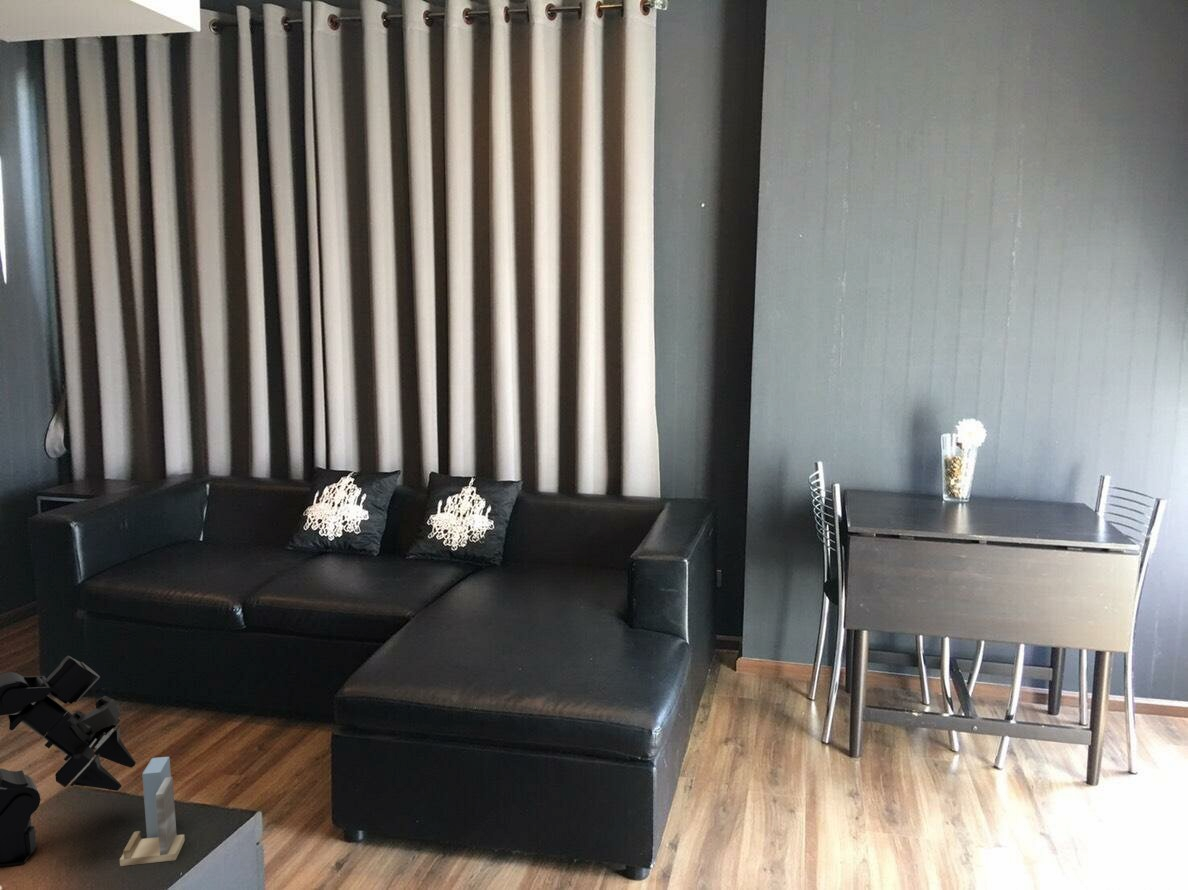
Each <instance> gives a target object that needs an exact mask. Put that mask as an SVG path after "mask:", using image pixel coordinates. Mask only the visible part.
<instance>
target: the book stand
mask: <svg viewBox="0 0 1188 890" xmlns="http://www.w3.org/2000/svg"><path fill="white" fill-rule="evenodd" d="M173 777H174V776H171V777H167V778H165V779H164V781H163V783H162V784H161V786H160V788H159V790H158V791H157V793H156V807H157V821H158V835H159V837H155V838H147V837H145V838H142V836H141V835H142V834H141V833H142V832H141V830H137V831H134V832H133V833H132V834H131V836H130V838H129V840H128V842H127V844H126V846H125V848H124V849H123V851H122V852H123V853H122V855H121V857H120V858H119V866H120V867H124V866H134V865H144V864H152V863H153V864H154V863H161V862H171V861H176V860H177V858H178V857H179V854H180V852H181V850H182V847H183V845H184V843H185V841H186V839H185V833H184V834H183V833H182V834H177V823H176V808H175V794H174V781H173Z"/></svg>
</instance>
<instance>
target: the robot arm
mask: <svg viewBox="0 0 1188 890" xmlns="http://www.w3.org/2000/svg"><path fill="white" fill-rule="evenodd" d="M100 678H101V676H100V675H99V674H98V673H97V672H95V671H94V670H93V669H92V668H91V667H89V666H88V665H87V664H86V663H84V662H83V661H79V660H77V659H75V658H73V657H72V656H70V655H67V656H66V657H64V658H63V660H62V661H61V662H60V664H58V666H57V667H56V668H55V669H54V670H53V671H52V672H51V673H50V674H49V675H48V677H46V676H45V675H32V676H31V675H30V676H28V675H27V676H22V675H21V674H20V673H17V672H13V671H9V672H4V673H2V674H0V716H6V715H7V717H8V720H9V721H8V722H9V726H8V727H9V728H8V730H9V731H13V730H15V729H16V728H17V727H18V726H19V725H20V724H24V726H27V727H28V729H30V730H32V731H33V732H35V733H36V734H37V735H38V736H40V737H41V738H43V739H44V740H45V741H46V742H45V744H44V747H46V748H48V749H50V748H51V747H52V746H53V747H54V748H56V749H58V750H59V751H60V752H62V753H63V754H65V757H64V758H63V760H64V761H65V762H64V763H63V764H62V765H61V766H60V768H59V769H58V770H57V771H56V772H55V782H57V783H58V784H59V785H61V786H62V787H63V788H67V786H68V785H69V786H70V787H74V786H77V787H78V786H80V787H81V786H82V787H90V788H96V789H104V790H110V791H115V792H117V791H119V790H120V789H121V788H122V784H121V783H120V781H118V780H117V778H115V776H113V775H112V774H111V773H110V772H109V771H108V770H107V769H106V768H105V767H104V766H102V764H101V758H102V759H106V760H108V761H111V762H114V763H116V764H118V765H121V766H123V767H128V768H129V769H130V768H131V769H133V768H134V767H135V766H136V764H137V762H136V761H135V759H134V758H133V756H132V755H131V753H130V752H129V750H128V749H127V747H126V746H125V744H124V742H123V741H122V739H121V736H120V735H121V734H120V733H121V731H120V730H121V728H122V727H121V724H119V722H121V720H120V717H121V716H123V715H122V712H121V711H120V710H119V708H118V707H119V705H120V702H118V701H117V700H115V699H114V698H111V697H110V696H108V695H103V696H102V697H99V698H98V699H97V700H96V701H95V707H94V708H92V709H91V711H89V712H87V713H83V712H82V711H81V710H76V711H74V713H73V712H71V711H70V710H68V709H67V708H65V707H64V706H63V705H62V704H60V703H59V702H58V701H56V700H55V699H54V698H52V696H53V697H55V698H56V699H57V700H59V701H60V702H62V703H63V704H64V705H67V704H68V703H69V704H70V705H72V704H73V703H78V701H79V700H80V699H81V698H82V697H83V696H84V695H85V694H86V693H87V692H88V691H89V690H90V689H91V688H92V687H93V685H94V684H96V682H97V681H98V680H99V679H100ZM49 694H51V695H52V696H51V697H50V695H49ZM117 725H118V726H117ZM40 804H41V795H40V791H39V790H38V788H37V786H36V784H35V782H34V780H33V778H32V777H31V776H29V775H27V774H25V772H24V770H23V769H22V770H17V771H15V770H14V771H13V770H7V769H4V768H0V867H10V866H21V865H23V864H25V863H26V862H27V861H28V859H29V858H30V856H31V855H32V853H34V851H35V850H36V848H37V847H38V843H37V839H36V828H35V826H34V825H32V819H31V816H32V815H33V814H34V813H35V811H37V810H38V808H39V807H40Z"/></svg>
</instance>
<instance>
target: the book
mask: <svg viewBox="0 0 1188 890" xmlns="http://www.w3.org/2000/svg"><path fill="white" fill-rule="evenodd" d="M141 775H142V786H143V787H142V788H143V789H142V790H143V801H144V814H145V815H144V817H145V831H146V838H155V837H159V835H158V821H157V807H156V793H157V791H158V790H159V788H160V786H161V784H162V783H163V781H164V779H165V778H167V777H172V773H171V759H170V756H161V757H160V756H159V757H153V758H151V759H150V761H149V762H148V764H147V765H146V767H145V768H144V770H143V772H142V774H141Z"/></svg>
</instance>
